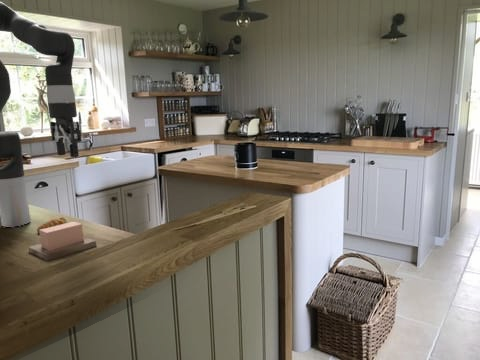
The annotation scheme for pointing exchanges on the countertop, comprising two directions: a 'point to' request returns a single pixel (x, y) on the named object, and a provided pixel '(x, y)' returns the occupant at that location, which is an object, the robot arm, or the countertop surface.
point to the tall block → (61, 235)
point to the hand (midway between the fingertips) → (68, 156)
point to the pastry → (52, 223)
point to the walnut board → (61, 249)
